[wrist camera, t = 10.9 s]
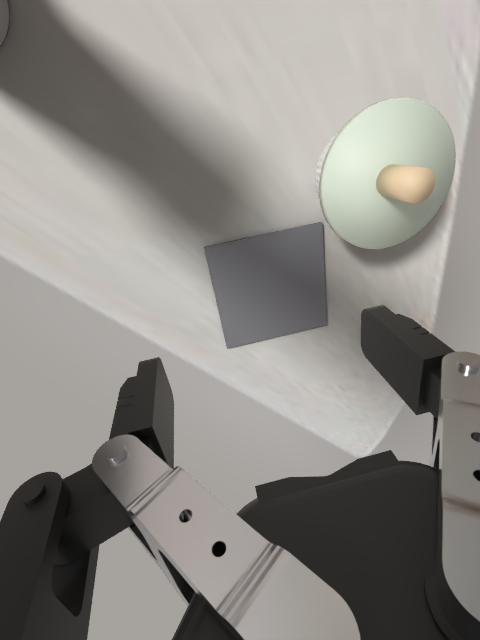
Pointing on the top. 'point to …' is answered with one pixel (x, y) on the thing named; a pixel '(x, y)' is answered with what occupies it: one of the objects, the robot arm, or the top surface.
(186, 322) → the top surface
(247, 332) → the mat
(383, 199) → the lid
